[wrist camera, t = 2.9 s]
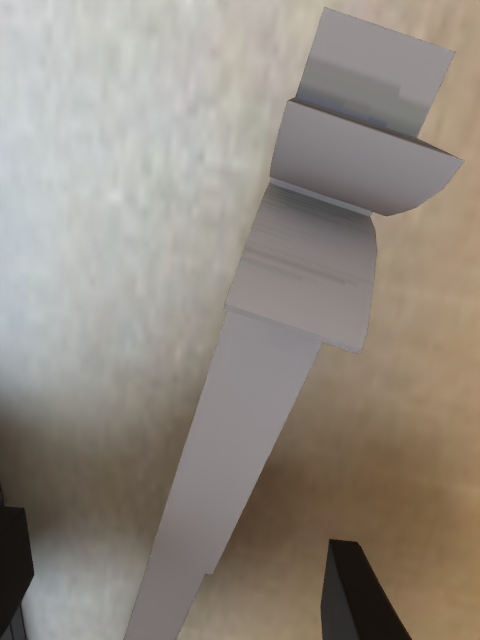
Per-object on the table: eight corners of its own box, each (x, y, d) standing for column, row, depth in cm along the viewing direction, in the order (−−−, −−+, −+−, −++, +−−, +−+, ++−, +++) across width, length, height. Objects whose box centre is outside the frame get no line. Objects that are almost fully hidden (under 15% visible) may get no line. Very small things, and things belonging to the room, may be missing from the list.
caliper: (299, 96, 8) (380, -272, 2) (354, 115, 8) (630, -184, 2) (94, 731, 14) (-46, 1137, 8) (125, 740, 14) (8, 1154, 8)
